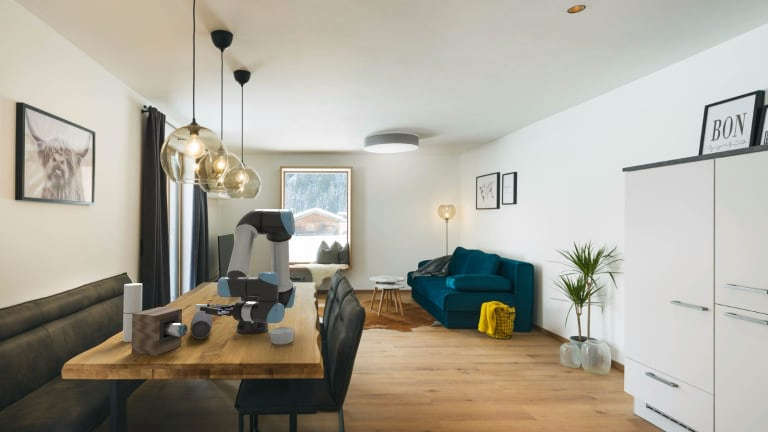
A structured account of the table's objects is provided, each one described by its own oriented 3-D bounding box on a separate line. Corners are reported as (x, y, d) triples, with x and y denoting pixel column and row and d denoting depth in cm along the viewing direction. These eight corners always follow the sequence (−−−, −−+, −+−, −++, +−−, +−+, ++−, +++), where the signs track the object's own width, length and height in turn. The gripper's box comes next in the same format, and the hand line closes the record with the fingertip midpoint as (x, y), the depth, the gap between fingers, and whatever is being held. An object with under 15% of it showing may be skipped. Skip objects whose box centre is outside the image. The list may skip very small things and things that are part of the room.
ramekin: (271, 346, 180) (271, 334, 180) (267, 339, 190) (267, 328, 190) (296, 344, 184) (296, 332, 184) (291, 337, 194) (292, 326, 194)
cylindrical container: (122, 342, 183) (123, 285, 183) (123, 338, 189) (124, 283, 189) (140, 340, 186) (141, 285, 186) (141, 336, 192) (142, 282, 193)
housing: (181, 345, 179) (182, 308, 179) (155, 355, 165) (156, 315, 165) (158, 343, 182) (159, 306, 182) (131, 352, 169) (132, 313, 169)
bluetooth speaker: (191, 330, 205) (192, 309, 205) (212, 328, 209) (212, 308, 209) (188, 342, 184) (189, 320, 184) (211, 340, 187) (211, 318, 188)
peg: (187, 334, 172) (187, 322, 173) (178, 338, 168) (178, 325, 168) (164, 332, 176) (164, 320, 176) (154, 335, 171) (154, 323, 171)
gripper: (235, 324, 155) (183, 320, 162) (255, 317, 167) (206, 313, 174) (236, 304, 155) (184, 300, 162) (255, 299, 168) (207, 295, 174)
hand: (196, 307), depth 168 cm, fingers closed
